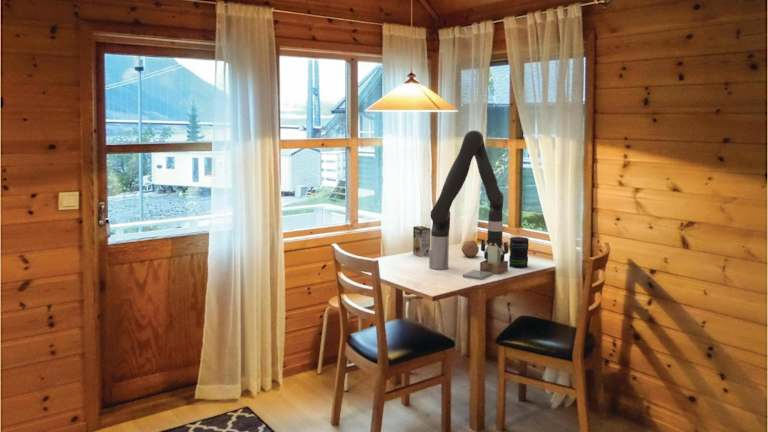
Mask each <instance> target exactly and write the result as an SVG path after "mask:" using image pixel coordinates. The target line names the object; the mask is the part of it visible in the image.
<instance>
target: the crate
mask: <svg viewBox="0 0 768 432" xmlns="http://www.w3.org/2000/svg"><path fill="white" fill-rule="evenodd" d="M508 261H509V260H504V261H503V262H501V264H492V263H488V259H487V260H485V259H484V260H482V261H481V262H479V271H485V272H492V275H493V274H494V275H501V274H504V273H505V272H507V271H509V270H508V267H509V262H508Z"/></svg>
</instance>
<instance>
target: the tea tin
mask: <svg viewBox="0 0 768 432" xmlns="http://www.w3.org/2000/svg"><path fill="white" fill-rule="evenodd" d="M487 246H488V263H492V264H501V262H500V257H501V253H500V252H499V251H498V246H492V245H491V246H490V245H488V244H487Z"/></svg>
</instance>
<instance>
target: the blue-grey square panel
mask: <svg viewBox="0 0 768 432" xmlns="http://www.w3.org/2000/svg"><path fill="white" fill-rule="evenodd" d="M492 275H493V274H492V272H485V271H480V270H476V269H473V270H470V271H468V272H466V273H464V274H462V277H463V278H466V279H472V280H479V281H480V280H485V279H486V278H488V277H491V276H492Z"/></svg>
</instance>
